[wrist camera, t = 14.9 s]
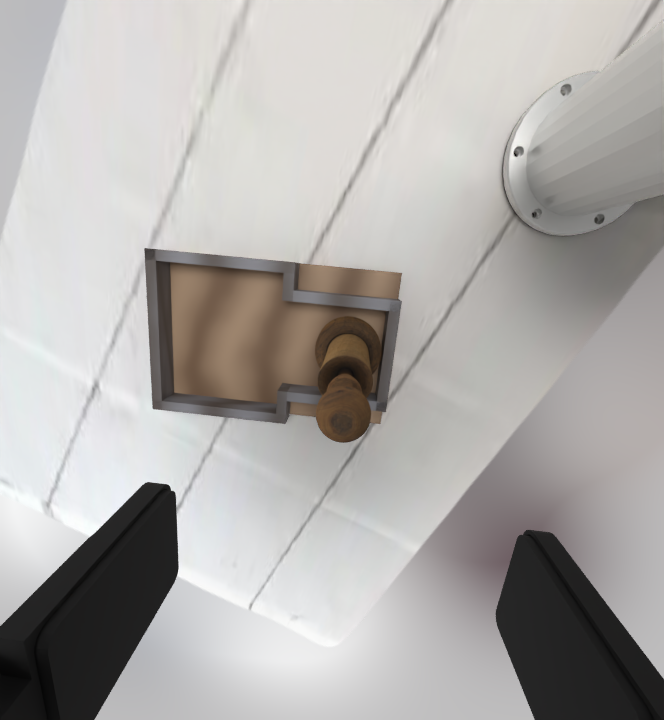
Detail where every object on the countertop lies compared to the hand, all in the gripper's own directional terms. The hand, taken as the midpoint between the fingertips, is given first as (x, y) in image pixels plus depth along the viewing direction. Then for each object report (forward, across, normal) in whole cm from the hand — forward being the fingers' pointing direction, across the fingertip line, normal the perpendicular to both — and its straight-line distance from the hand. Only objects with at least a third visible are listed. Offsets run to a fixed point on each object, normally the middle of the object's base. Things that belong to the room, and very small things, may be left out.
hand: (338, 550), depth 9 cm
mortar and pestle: (+26, 0, 0) cm, 26 cm away
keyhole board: (+27, +8, 0) cm, 28 cm away
